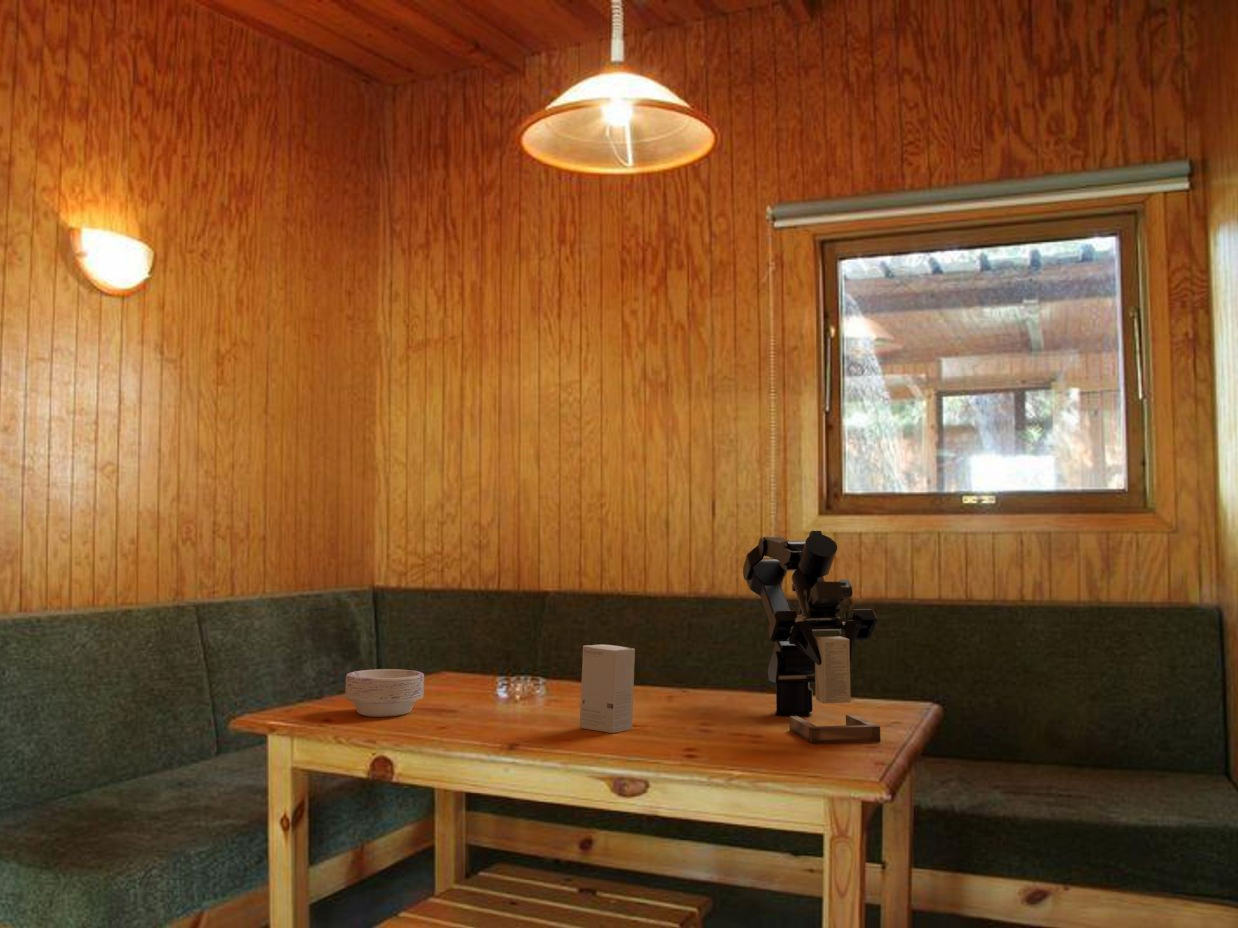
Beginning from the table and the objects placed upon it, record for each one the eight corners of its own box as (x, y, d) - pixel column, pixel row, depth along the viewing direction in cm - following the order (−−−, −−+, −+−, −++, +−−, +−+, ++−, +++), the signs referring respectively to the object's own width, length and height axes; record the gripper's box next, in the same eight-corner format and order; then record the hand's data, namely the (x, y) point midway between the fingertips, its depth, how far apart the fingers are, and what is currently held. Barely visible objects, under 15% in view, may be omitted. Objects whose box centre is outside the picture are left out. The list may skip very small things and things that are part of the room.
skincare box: (579, 728, 189) (578, 645, 190) (601, 723, 193) (600, 642, 194) (614, 734, 183) (614, 648, 184) (636, 729, 188) (635, 645, 189)
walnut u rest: (789, 730, 186) (789, 716, 186) (853, 728, 187) (853, 713, 188) (812, 743, 174) (811, 728, 174) (880, 741, 176) (880, 726, 176)
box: (842, 699, 184) (842, 635, 184) (851, 703, 179) (851, 638, 180) (813, 699, 183) (813, 635, 184) (821, 703, 179) (822, 638, 179)
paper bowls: (439, 712, 207) (439, 672, 207) (374, 723, 195) (375, 680, 196) (393, 704, 217) (394, 665, 217) (329, 713, 205) (330, 673, 206)
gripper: (772, 565, 185) (792, 634, 174) (872, 563, 188) (899, 632, 176) (760, 605, 192) (779, 675, 181) (856, 604, 195) (881, 672, 184)
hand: (834, 662), depth 180 cm, fingers closed on box, 5 cm apart
